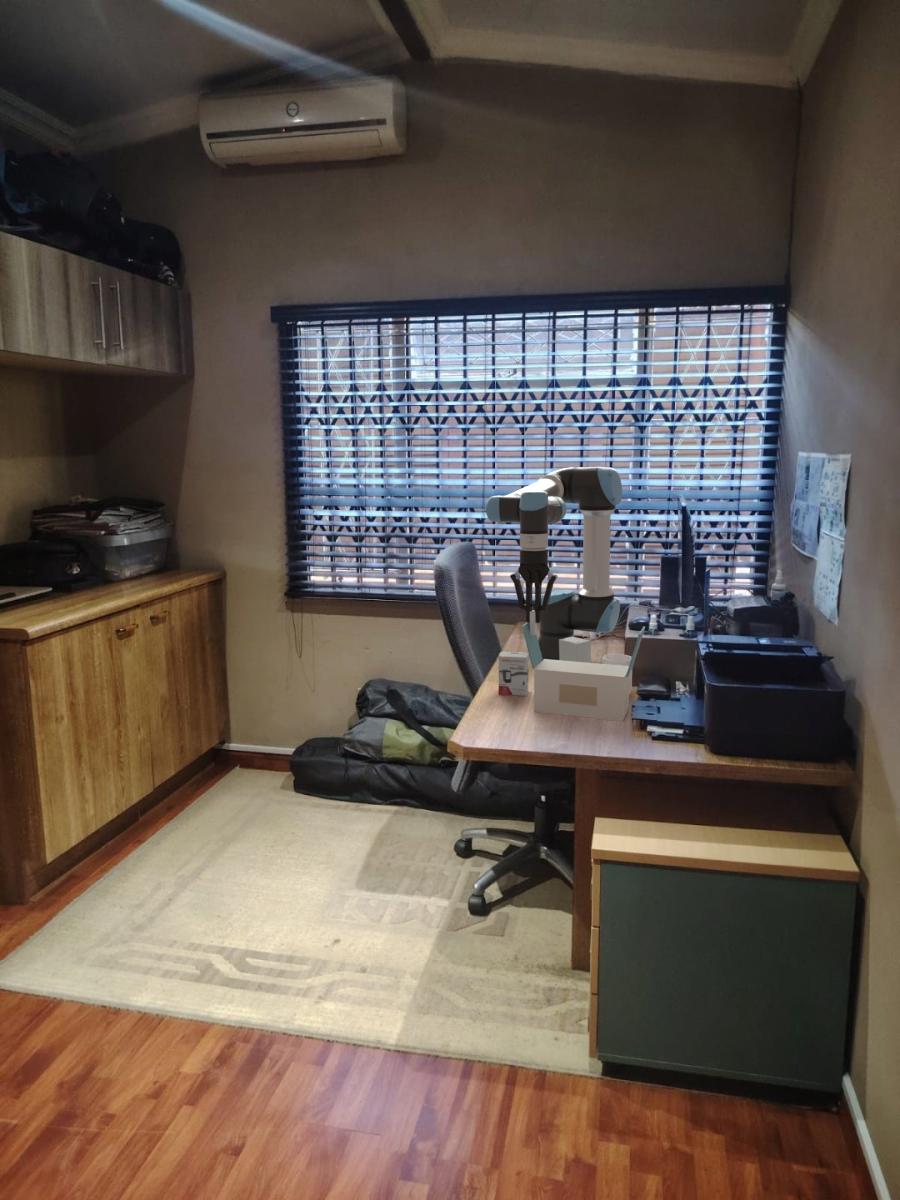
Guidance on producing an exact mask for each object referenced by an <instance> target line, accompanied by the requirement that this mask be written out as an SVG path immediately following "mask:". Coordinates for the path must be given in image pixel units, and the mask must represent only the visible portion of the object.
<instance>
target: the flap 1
mask: <svg viewBox="0 0 900 1200" xmlns="http://www.w3.org/2000/svg"><path fill="white" fill-rule="evenodd" d="M521 628H522V632H523V637H524V640H525V643H526V644H525V645H526V648H527V653H528V654H529V662H530V666H531V668H532V670H534V669H535V668H536V667H537V666H538V665H539V664H540V663H541V662H542V660H543V659H542V655H541V651H540V647H539V643H538V639H539V637H538V636H537V634H538V633H537V634H536V635H530V623H529V622H527V621H526V623H524V624H523V625H522V626H521Z"/></svg>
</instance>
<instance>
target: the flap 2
mask: <svg viewBox="0 0 900 1200" xmlns="http://www.w3.org/2000/svg"><path fill="white" fill-rule="evenodd" d="M645 629H646V626H644V625H643V626H642V628H641V630H640V631H639V633H638V635H637V636H638V637H637V639H636V642H635V645H634V649H633V651H632V655H631V657H632V658H631V661H630V664H629V668H628V671H627V674H626V677H628V676H629V674H630V672H631V670H632V671H633V667H634V664H635V661H636V658H637V654H638V651H639V650H640V649H639V648H640V644H641V642H642V638H643V636H644V632H645Z"/></svg>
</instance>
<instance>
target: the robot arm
mask: <svg viewBox="0 0 900 1200" xmlns="http://www.w3.org/2000/svg"><path fill="white" fill-rule="evenodd" d="M622 484H623V483H622V479H621V477H620V475H619V473H618V471H617V470H616V469H615V468H613V467H606V466H604V467H603V466H594V467H593V466H591V467H587V466H585V467H583V466H582V467H581V466H580V467H575V466H574V467H573V466H572V467H564V468H561V469H557V470H555V471H552V472H550V473H547V474H545V475H542V476H541V477H540V478H539V479H537V482H534V483H531V484H530V485H528V486H527V485H526V486H525V487H522V488H520V489H519V490H516V491H514V492H511V493H508V494H507V495H500V494H499V495H492V496H490V497H489V498H488V500H487V502H486V507H485V513H486V517H487V518H488V520H489V521H490V522H495V523H501V524H502V523H514V524H515V523H516V524H517V523H518V524H519V547H520V548H521V549H520V550H519V566H518V568H517V571H516V572H514V573H511V574H510V576H509V577H510V579H511V581H512V582H513V586H514V590H515V594H516V598H517V602H518V605H519V609H521V610H522V609H523V610H525V613H526V614H525V615H526V616H525V618H526V619H525V621H526V623H527V622H529V623H530V635H536V634H538V624H539V636H538V643H539V647H540V651H541V655H542V659H543V660H544V659H550V660H560V658H559V640H560V639H564V638H568V637H575V631H580V632H590V633H597V634H610V633H611V632H612V631H614V629H615V627H616V625H617V623H618V620H619V616H620V611H621V603H620V600H619V598H615V591H614V590H613V589H611V588H610V573H611V572H610V563H611V515H612V514H613V513H614V512H615V511H616V506H617V505H619V504H620V503H621V502H622V496H623V485H622ZM566 504H573V505H574V504H576V505H578V511H579V512H580V513H581V514H582V516H583V519H582V520H583V521H582V522H583V524H582V525H583V530H582V531H583V539H582V541H583V543H582V546H583V547H582V548H583V549H582V551H583V552H582V553H583V555H582V558H583V559H582V588H580V589H579V590H578V593H577V595H576V593H575V591H574V590H571V589H558V590H553V588H554V583H555V582H556V580H557V579H558V575H557V574H554V573H552V572H551V571H550V570H551V569H550V567H549V566H548V564H549V559H548V558H549V551H548V549H547V548H549V525H551V524H552V525H554V524H557V523H559V522H561V521H563V519H564V518H565V516H566V514H567V505H566ZM546 577H547V584H546V589H545V592H544V593H543V594H542V589H543V588H542V585H543V581H544V580H545V579H546ZM521 578H522V579H523V580H524V583H525V595H524V590H523V587H522V582H521ZM533 585H534V586H533ZM533 587H534V607H533ZM533 608H534V609H533ZM543 660H542V661H543ZM542 661H541V662H542Z"/></svg>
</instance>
